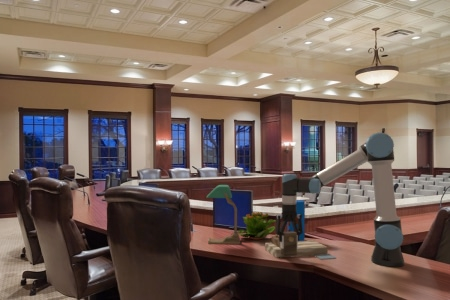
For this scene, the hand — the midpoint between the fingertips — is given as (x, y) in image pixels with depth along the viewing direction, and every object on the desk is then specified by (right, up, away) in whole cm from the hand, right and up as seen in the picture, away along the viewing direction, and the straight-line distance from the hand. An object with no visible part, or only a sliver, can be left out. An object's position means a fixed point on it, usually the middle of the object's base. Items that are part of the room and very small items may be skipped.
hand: (288, 247), depth 185 cm
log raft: (+6, -6, +12) cm, 15 cm away
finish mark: (+20, -6, +3) cm, 21 cm away
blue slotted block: (+12, -7, +42) cm, 44 cm away
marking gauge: (-2, -4, +7) cm, 8 cm away
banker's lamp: (-35, -6, +34) cm, 49 cm away
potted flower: (-12, -7, +47) cm, 49 cm away
